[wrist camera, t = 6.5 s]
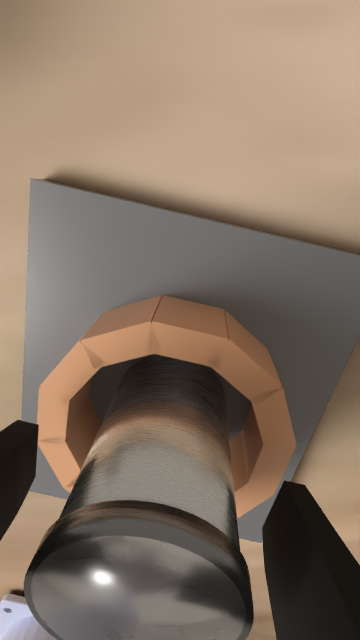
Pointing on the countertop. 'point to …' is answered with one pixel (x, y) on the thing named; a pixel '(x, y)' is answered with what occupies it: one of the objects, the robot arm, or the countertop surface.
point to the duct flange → (180, 329)
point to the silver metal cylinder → (149, 521)
